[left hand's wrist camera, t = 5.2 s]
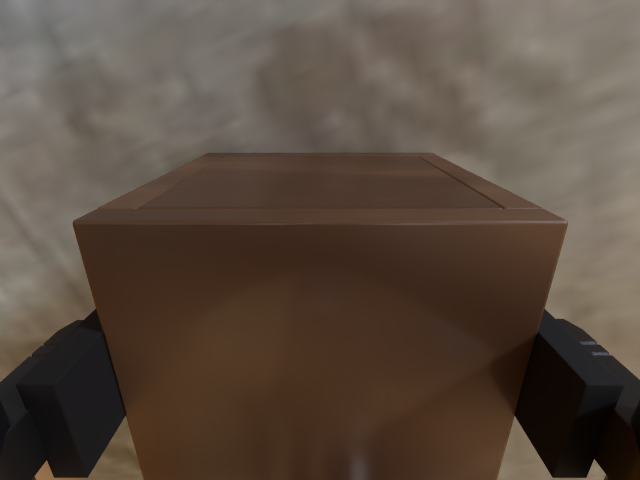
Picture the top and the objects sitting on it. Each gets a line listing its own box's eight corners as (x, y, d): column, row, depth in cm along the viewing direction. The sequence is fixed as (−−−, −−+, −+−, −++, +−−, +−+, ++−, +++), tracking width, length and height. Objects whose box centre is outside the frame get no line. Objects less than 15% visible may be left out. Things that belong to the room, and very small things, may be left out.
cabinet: (402, 417, 23) (456, 628, 14) (238, 417, 23) (184, 628, 14) (433, 153, 16) (571, 220, 7) (207, 153, 16) (69, 220, 7)
